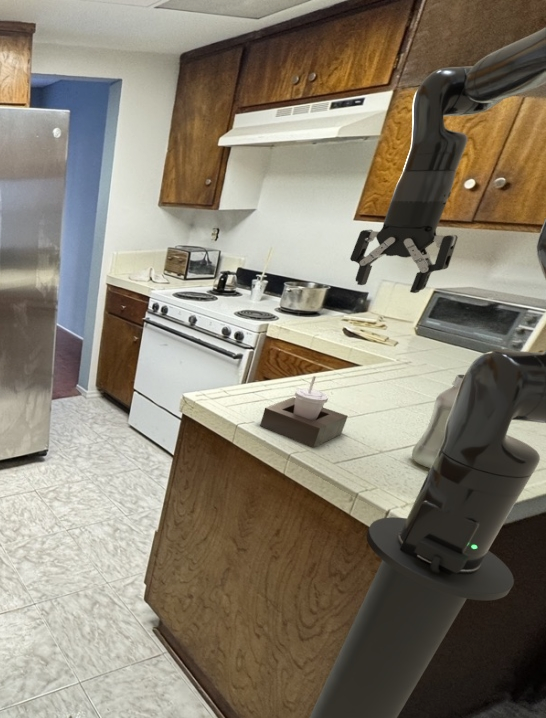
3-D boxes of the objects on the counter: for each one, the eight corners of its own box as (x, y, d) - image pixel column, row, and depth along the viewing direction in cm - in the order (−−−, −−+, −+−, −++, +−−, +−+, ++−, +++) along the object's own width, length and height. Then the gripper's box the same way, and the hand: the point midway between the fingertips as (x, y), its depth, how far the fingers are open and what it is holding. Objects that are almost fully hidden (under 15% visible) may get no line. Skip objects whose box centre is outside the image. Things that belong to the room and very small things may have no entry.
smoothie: (288, 421, 118) (304, 369, 112) (319, 430, 113) (337, 376, 108) (281, 430, 113) (297, 377, 108) (313, 439, 109) (331, 384, 104)
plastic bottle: (445, 461, 100) (486, 375, 92) (453, 477, 95) (498, 387, 86) (405, 453, 103) (442, 369, 95) (411, 468, 98) (451, 380, 90)
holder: (313, 447, 106) (320, 428, 104) (259, 425, 116) (264, 407, 114) (341, 434, 111) (348, 415, 109) (287, 414, 121) (293, 397, 119)
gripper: (362, 198, 88) (335, 284, 95) (463, 200, 77) (425, 297, 84) (381, 197, 92) (354, 280, 98) (481, 198, 80) (443, 292, 87)
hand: (387, 288), depth 91 cm, fingers open, 8 cm apart
